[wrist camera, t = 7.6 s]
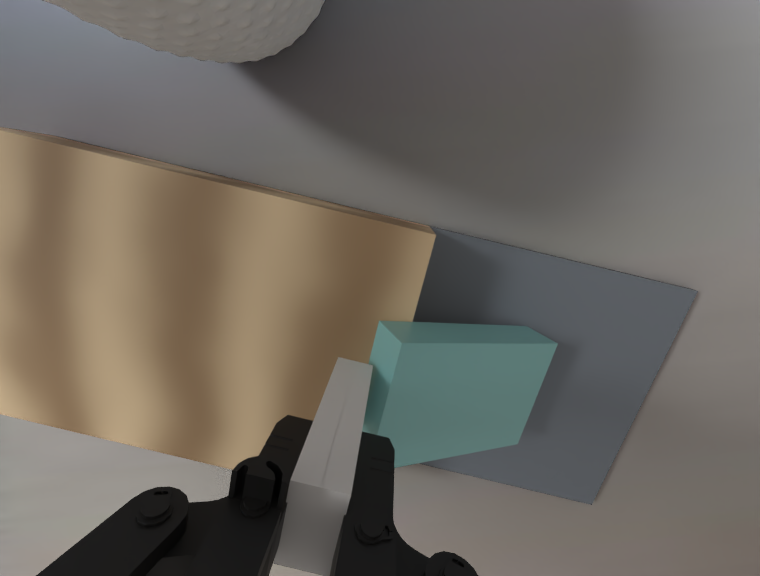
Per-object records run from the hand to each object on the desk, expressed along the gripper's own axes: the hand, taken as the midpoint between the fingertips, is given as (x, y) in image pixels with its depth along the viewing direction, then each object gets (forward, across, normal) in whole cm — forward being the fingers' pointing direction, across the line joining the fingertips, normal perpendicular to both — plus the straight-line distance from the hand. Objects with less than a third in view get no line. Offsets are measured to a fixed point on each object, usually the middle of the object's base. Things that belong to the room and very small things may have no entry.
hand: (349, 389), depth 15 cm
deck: (+5, -8, 0) cm, 10 cm away
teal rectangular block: (+3, +4, 0) cm, 5 cm away
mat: (+5, +9, 0) cm, 10 cm away
